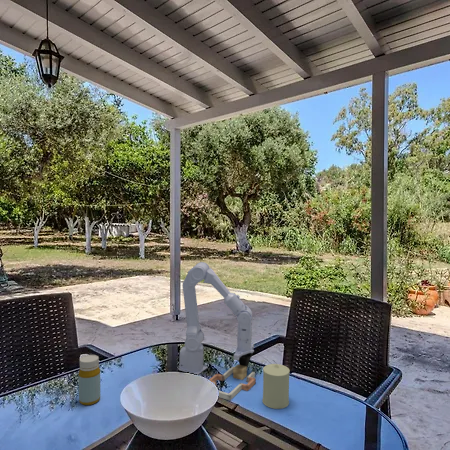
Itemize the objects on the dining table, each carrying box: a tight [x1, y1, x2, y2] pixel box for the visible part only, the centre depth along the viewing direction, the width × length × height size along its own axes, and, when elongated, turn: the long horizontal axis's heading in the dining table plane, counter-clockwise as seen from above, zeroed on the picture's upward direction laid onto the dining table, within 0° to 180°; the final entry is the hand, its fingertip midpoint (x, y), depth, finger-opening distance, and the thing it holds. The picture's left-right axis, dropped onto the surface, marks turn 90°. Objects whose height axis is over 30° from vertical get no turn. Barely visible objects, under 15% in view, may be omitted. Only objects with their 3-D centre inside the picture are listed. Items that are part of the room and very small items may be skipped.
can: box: [262, 363, 291, 410], centre depth 129 cm, size 9×9×12 cm
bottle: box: [78, 354, 101, 406], centre depth 128 cm, size 7×7×15 cm
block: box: [232, 363, 248, 381], centre depth 147 cm, size 4×4×4 cm
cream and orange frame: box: [208, 366, 257, 401], centre depth 141 cm, size 15×20×2 cm
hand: (243, 370), depth 151 cm, fingers closed
